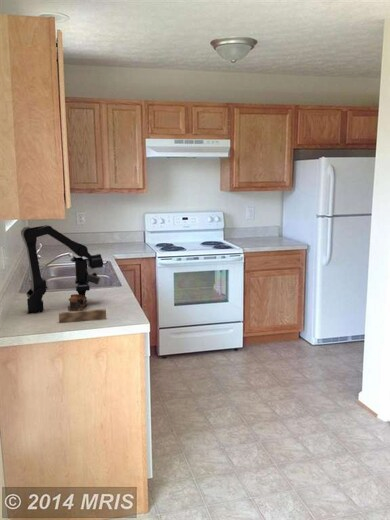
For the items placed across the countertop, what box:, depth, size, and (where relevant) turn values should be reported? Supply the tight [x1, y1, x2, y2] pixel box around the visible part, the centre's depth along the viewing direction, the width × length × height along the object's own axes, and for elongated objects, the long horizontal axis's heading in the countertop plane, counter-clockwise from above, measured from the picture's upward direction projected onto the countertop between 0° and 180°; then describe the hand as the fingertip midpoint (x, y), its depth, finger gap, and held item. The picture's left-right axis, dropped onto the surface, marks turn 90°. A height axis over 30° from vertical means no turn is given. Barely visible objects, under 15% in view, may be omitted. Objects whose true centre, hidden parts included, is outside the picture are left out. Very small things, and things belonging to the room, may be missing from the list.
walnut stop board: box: [58, 308, 107, 324], centre depth 207 cm, size 20×2×4 cm, turn 105°
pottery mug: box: [67, 293, 88, 312], centre depth 224 cm, size 12×10×8 cm
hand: (83, 300), depth 232 cm, fingers closed
